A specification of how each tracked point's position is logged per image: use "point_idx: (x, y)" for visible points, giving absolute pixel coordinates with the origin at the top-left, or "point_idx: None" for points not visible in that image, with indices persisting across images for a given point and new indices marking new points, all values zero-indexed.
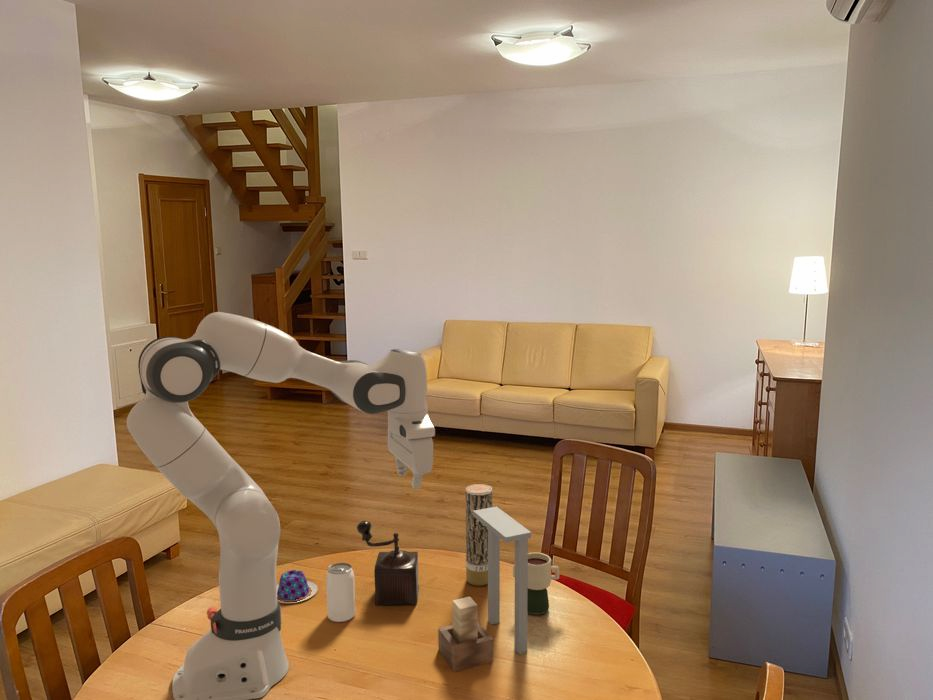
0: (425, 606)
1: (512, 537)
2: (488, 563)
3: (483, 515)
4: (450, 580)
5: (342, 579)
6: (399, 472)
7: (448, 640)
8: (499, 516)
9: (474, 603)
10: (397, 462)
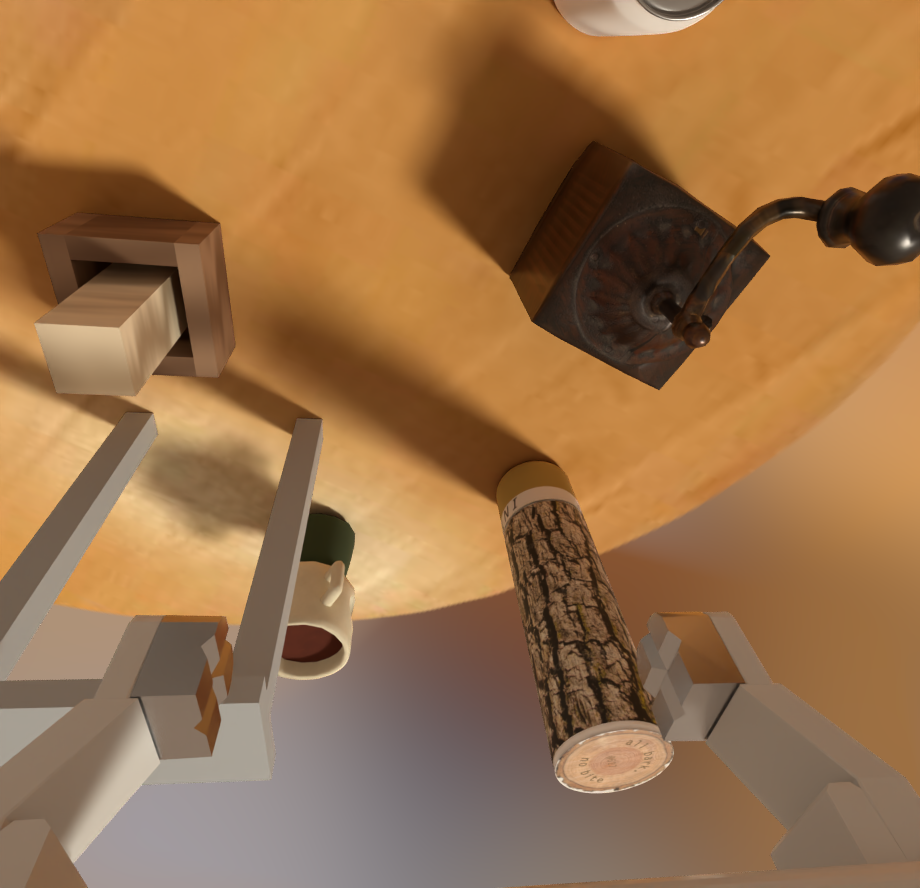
0: (486, 298)
1: None
2: (292, 540)
3: None
4: (582, 425)
5: None
6: (678, 646)
7: (103, 240)
8: None
9: (72, 388)
10: (813, 753)
